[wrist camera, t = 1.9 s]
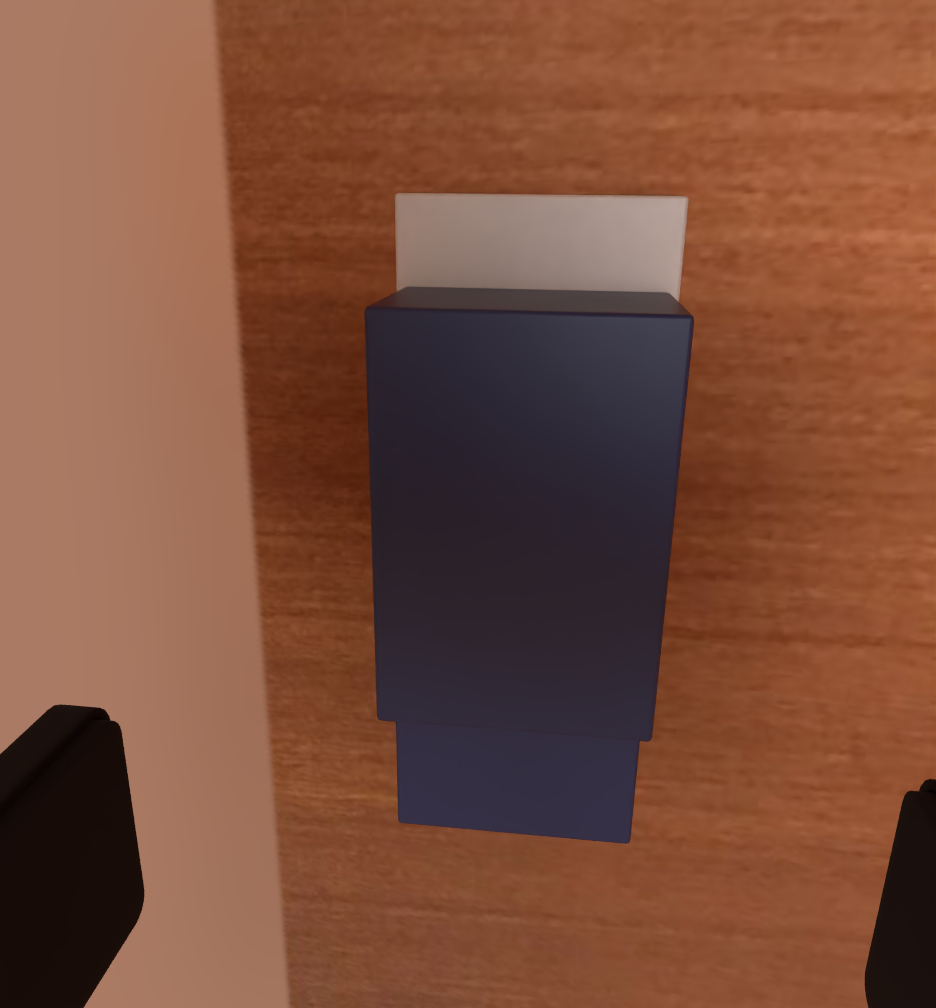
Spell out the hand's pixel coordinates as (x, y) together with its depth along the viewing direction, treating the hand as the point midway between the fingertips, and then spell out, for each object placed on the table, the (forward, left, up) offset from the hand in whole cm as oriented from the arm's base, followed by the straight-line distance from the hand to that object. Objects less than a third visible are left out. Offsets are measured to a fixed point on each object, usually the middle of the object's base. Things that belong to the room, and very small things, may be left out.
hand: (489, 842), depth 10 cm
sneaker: (0, 0, -13) cm, 13 cm away
